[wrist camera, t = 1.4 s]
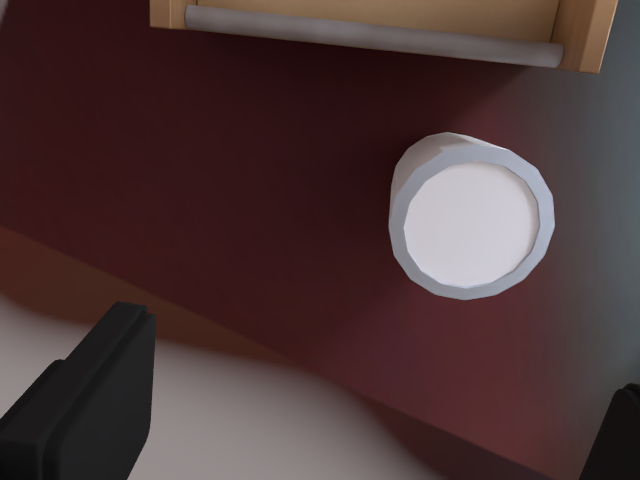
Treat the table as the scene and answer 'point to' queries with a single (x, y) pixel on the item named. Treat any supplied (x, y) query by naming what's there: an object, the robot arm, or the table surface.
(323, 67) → the table surface
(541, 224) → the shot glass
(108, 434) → the robot arm
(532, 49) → the spice rack
